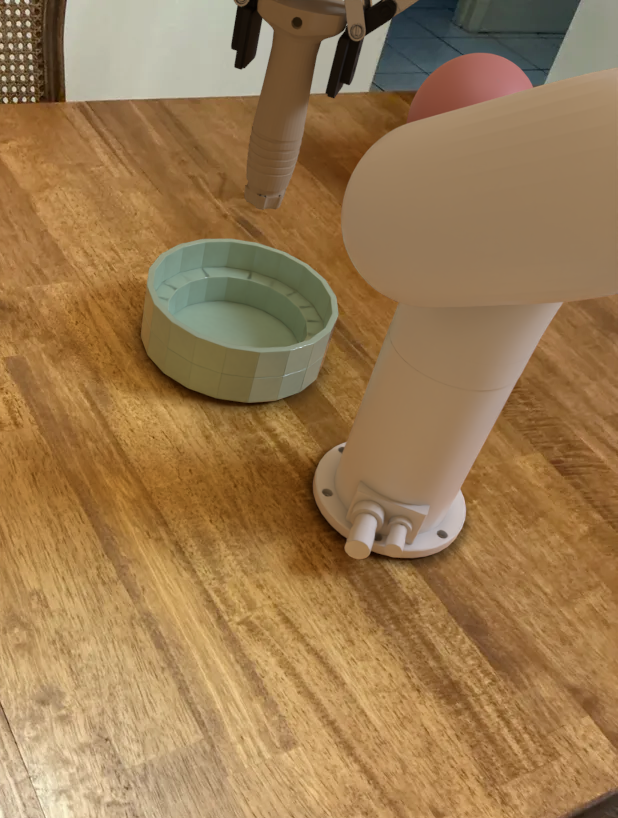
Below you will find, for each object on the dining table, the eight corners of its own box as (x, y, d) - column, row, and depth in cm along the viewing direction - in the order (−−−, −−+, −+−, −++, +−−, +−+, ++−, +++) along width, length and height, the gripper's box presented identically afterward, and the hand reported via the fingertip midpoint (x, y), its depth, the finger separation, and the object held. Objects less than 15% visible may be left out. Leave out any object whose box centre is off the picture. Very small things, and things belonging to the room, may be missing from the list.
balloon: (536, 243, 106) (597, 114, 94) (378, 191, 108) (420, 59, 96) (547, 190, 116) (604, 68, 104) (402, 144, 118) (443, 19, 107)
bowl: (293, 430, 76) (310, 376, 72) (111, 365, 78) (116, 308, 73) (340, 328, 87) (356, 275, 83) (179, 273, 89) (187, 219, 85)
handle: (295, 226, 70) (345, 21, 59) (218, 205, 70) (253, -2, 59) (305, 198, 73) (354, 0, 62) (231, 179, 74) (267, -23, 62)
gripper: (197, -275, 50) (161, 59, 63) (491, -197, 48) (391, 131, 61) (238, -283, 55) (197, 29, 68) (507, -212, 53) (410, 94, 66)
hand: (289, 74), depth 65 cm, fingers closed on handle, 6 cm apart
